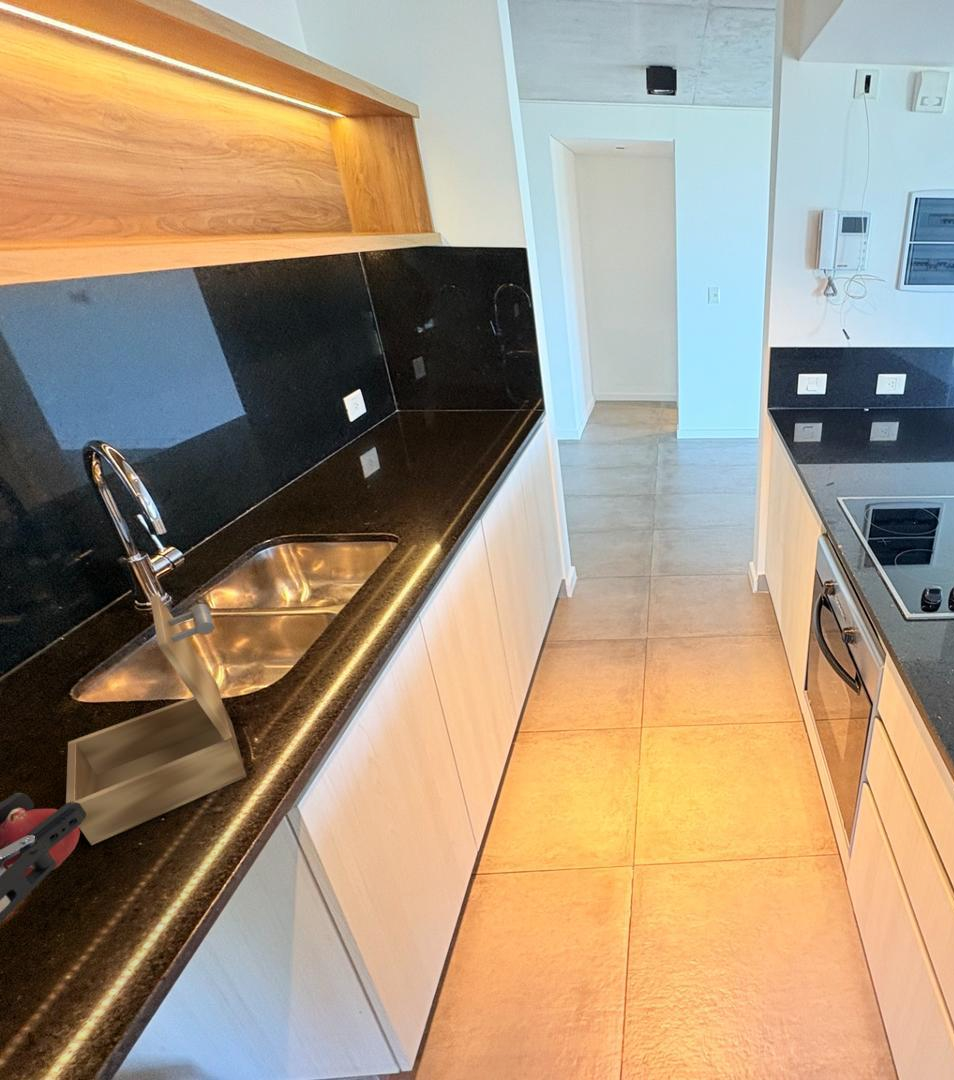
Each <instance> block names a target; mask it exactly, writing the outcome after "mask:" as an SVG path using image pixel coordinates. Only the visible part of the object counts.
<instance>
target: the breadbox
mask: <svg viewBox="0 0 954 1080" xmlns="http://www.w3.org/2000/svg"><path fill="white" fill-rule="evenodd" d="M223 706H224V710H225V714H226V717H227V721H228V725H229V728H230V732H231V736H232V738H230V739H227V740H224V739H223V737H222V736H221V734H220V733H219V732H218V730H217V729H216V727H215V726H214V725H213V723H212V722H211V720H210V719H209V717H208V716H207V715H206V713H205V712H204V710H203V709H202V707H201V706H200V705H199V703H198V702H197V700H196V699H195V697H194V696H191V697H187V698H186V699H183V700H180V701H177V702H175V703H171V704H168V705H166V706H164V707H161V708H158V709H155V710H153V711H150V712H148V713H145V714H141V715H139V716H136V717H133V718H130V719H127V720H125V721H122V722H120V723H117V724H114V725H112V726H108V727H106V728H103V729H100V730H97V731H94V732H92V733H89V734H87V735H86V734H85V735H84V736H81V737H78V738H76V739H75V738H74V739H73V740H69V741H67V760H66V761H67V762H66V763H67V765H66V789H65V790H66V793H65V794H66V795H65V804H66V803H68V802H76V803H79V804H80V805H81V806H82V808H83V809H84V811H85V812H86V817H85V819H84V820H83V821H82V823H81V824H80V825H79V826H78V827H79V830H80V832H81V833H82V834H83V836H84V837H85V838H86V840H87V841H88V843H89V844H90V845H91V846H93V845H96V844H98V843H100V842H102V841H105V840H107V839H109V838H111V837H114V836H116V835H118V834H120V833H123V832H125V831H127V830H130V829H132V828H134V827H136V826H139V825H141V824H143V823H145V822H147V821H150V820H152V819H154V818H156V817H159V816H161V815H163V814H166V813H168V812H170V811H173V810H175V809H177V808H179V807H181V806H183V805H186V804H188V803H190V802H192V801H195V800H197V799H199V798H201V797H204V796H206V795H208V794H211V793H213V792H215V791H218V790H220V789H223V788H224V787H227V786H229V785H231V784H233V783H235V782H238V781H240V780H243V779H244V778H247V773H246V772H247V771H246V769H245V765H244V762H243V758H242V754H241V751H240V747H239V744H238V740H237V737H236V733H235V729H234V726H233V722H232V720H231V718H230V716H229V714H228V711H227V709H226V707H225V705H224V704H223Z"/></svg>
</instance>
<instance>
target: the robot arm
mask: <svg viewBox="0 0 954 1080" xmlns="http://www.w3.org/2000/svg"><path fill="white" fill-rule="evenodd" d="M17 808H23V809H25V810H26V811H29V810H33V809H35V803H34V802H33V800H32V799H31V797H30V796H29V795H28V794H27V793H23V792H15V793H13V794H12V795H11V796H9V797H7V798H6V799H4V800H2V801H1V802H0V825H1V824H2V823H3V822H4V821H5V820H6V818H7V817H8V815H9V813H10V812H11V811H12V810H13V809H17ZM85 817H86V812H85V811H84V809H83V808H82V806H81V805H80V804H79V803H76V802H68V803H66V802H65V804H64V805H62V806H61V807H59V808H58V809H57V811H56V812H55V813H53V814H52V815H51V816H49V817H48V818H47V819H45V820H44V821H43V822H41V823H40V824H39V825H37V826H36V827H35V828H34V829H32V830H31V831H30V832H28V833H27V834H28V836H25V837H23V838H21V839H19V840H18V841H16V842H14V843H12V844H10V845H8V846H7V847H5V848H3V849H1V850H0V924H1V923H2V922H3V921H4V920H5V919H6V918H7V917H8V916H10V914H11V913H12V912H13V911H14V910H15V909H16V908H17V907H18V906H19V905H20V904H21V903H22V902H23V901H24V900H25V899H26V898H27V896H28V895H30V893H32V892H33V890H34V889H36V888H37V886H38V885H39V884H41V882H42V881H43V880H45V878H46V877H47V876H48V875H49V874H50V873H51V872H52V871H54V870H55V869H54V868H55V866H56V862H55V861H54V859H53V858H52V857H51V855H50V854H49V853H48V852H49V850H50V849H51V848H52V847H53V846H54V845H55V844H56V843H58V842H59V841H60V840H61V839H63V838H64V837H65V836H66V835H68V833H70V832H71V831H73V829H75V828H76V827H78V826H79V825H80V824H81V823H82V821H83V820H84V819H85ZM19 853H21V854H22V856H21V857H20V858H18V859H17V860H16V861H15V862H14V863H13V864H11V865H9V866H4V865H3V863H4V862H5V861H7V860H8V859H10V858H12V857H14V856H16V855H17V854H19ZM30 867H33V868H34V869H33V870H32V871H31V872H30V873H29V874H28V875H27V876H26V877H25V876H24V873H25V872H26V871H27V870H28V869H29V868H30ZM53 869H54V870H53Z"/></svg>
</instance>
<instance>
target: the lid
mask: <svg viewBox="0 0 954 1080" xmlns="http://www.w3.org/2000/svg"><path fill="white" fill-rule="evenodd" d="M149 598H150V604H151V612H152V617H153V623H154V629H155V630H154V631H155V636H156V643H157V646H158V648H159V650H160V651H161V652H162V654H163V655H164V656H165V658H166V659H167V661H168V662H169V663H170V665H171V667H172V668H173V669H174V670H175V672H176V673H177V675H178V677H179V678H180V679H181V680H182V682H183V683H184V685H185V687H187V689H188V690H189V692H190V694H191V695H192V697H195V699H196V700H197V702H198V703H199V705H200V706H201V707H202V709H203V710H204V712H205V713H206V715H207V716H208V717H209V719H210V720H211V722H212V723H213V725H214V726H215V727H216V729H217V730H218V732H219V733H220V734H221V736H222V737H223V739H224V740H227V739H230V738H232V736H231V732H230V728H229V725H228V721H227V717H226V714H225V710H224V707H225V705H224V703H223V700H222V695H221V692H220V689H219V684H218V683H217V681H216V680H215V678H214V677H213V676H212V673H211V672H210V671H209V669H208V668H207V666H206V665H205V663H204V662H203V659H201V657H200V656H199V654H198V653H197V651H196V649H195V648H194V647H193V645H192V644H191V642H190V641H189V639H188V638H189V637H193V636H195V635H197V634H198V635H202V636H206V635H210V634H212V633H213V632H214V630H215V627H216V626H215V623H214V620H213V617H212V614H211V610H210V607H209V605H207V604H204V603H198V604H195V605H193V606H192V607H191V610H190V611H188V612H185V613H183V614H180V615H177V616H174V617H173V615H172V613H171V612H170V611H169V609H168V607H167V606H166V604H165V603H164V601H163V600H162V598H161V597H160V596H159V594H158V593H157V594H153V595H151V596H150V597H149ZM192 619H193V624H194V626H193V627H191V628H188V629H185V630H182V629H181V627H180V626H179V624H181V623H184V622H186V621H189V620H192ZM223 705H224V706H223Z"/></svg>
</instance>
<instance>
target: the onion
mask: <svg viewBox="0 0 954 1080" xmlns="http://www.w3.org/2000/svg"><path fill="white" fill-rule="evenodd" d="M57 810H58V809H56V808H33V809H32V810H29V811H26V810H25V809H23V808H17V809H13V810H12V811H11V812H10V813H9V815H8V817H7V818H6V820H5V821H4V822H3V823H2V824H1V825H0V850H1V849H3V848H5V847H7V846H8V845H10V844H12V843H14V842H16V841H18V840H19V839H21V838H23V837H25V836H28V834H27V833H28V832H30V831H31V830H32V829H34V828H35V827H36V826H37V825H39V824H40V823H41V822H43V821H44V820H45V819H47V818H48V817H49V816H51V815H52V814H53V813H55V812H56V811H57ZM80 835H81V830H80V828H79V827H76V828H75V829H73V831H71V832H70V833H68V835H66V836H65V837H64V838H63V839H61V840H60V841H59V842H58V843H56V844H55V845H54V846H53V847H52V848H51V849H50V850H49V852H48V853H49V854H50V855H51V857H52V858H53V859H54V861H55V862H56V866H55V868H54V869H53V870H52V871H54V870H56V869H58V868H59V867H60V866H61V865H62V863H63V862H65V860H67V858H69V856H70V855H71V854H72V852H73V851H74V850H76V846H77V844H78V842H79V840H80ZM21 856H22V854H21V853H19V854H17V855H16V856H14V857H12V858H10V859H8V860H7V861H5V862H4V863H3V865H4V866H9V865H11V864H13V863H14V862H15V861H16V860H17V859H18V858H20V857H21ZM33 869H34V868H33V867H30V868H29V869H28V870H27V871H26V872H25V873H24V876H25V877H26V876H27V875H28V874H29V873H30V872H31V871H32V870H33Z"/></svg>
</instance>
